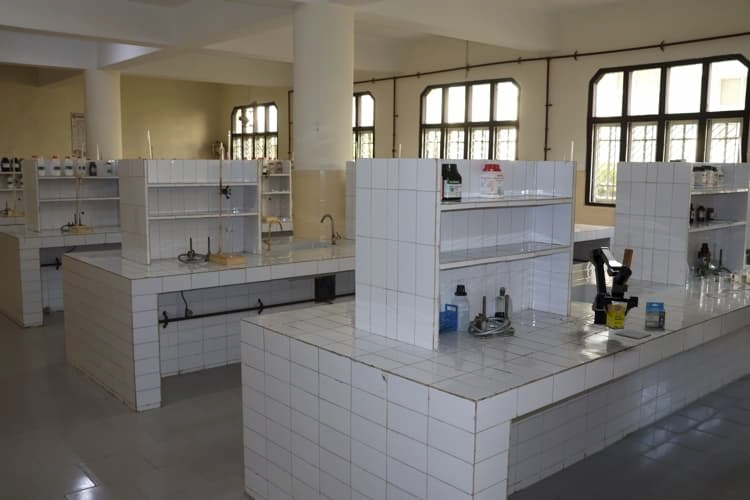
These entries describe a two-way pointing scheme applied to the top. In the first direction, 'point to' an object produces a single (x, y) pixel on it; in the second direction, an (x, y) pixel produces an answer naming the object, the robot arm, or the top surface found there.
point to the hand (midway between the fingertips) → (615, 314)
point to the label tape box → (655, 315)
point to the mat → (633, 334)
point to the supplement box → (615, 316)
